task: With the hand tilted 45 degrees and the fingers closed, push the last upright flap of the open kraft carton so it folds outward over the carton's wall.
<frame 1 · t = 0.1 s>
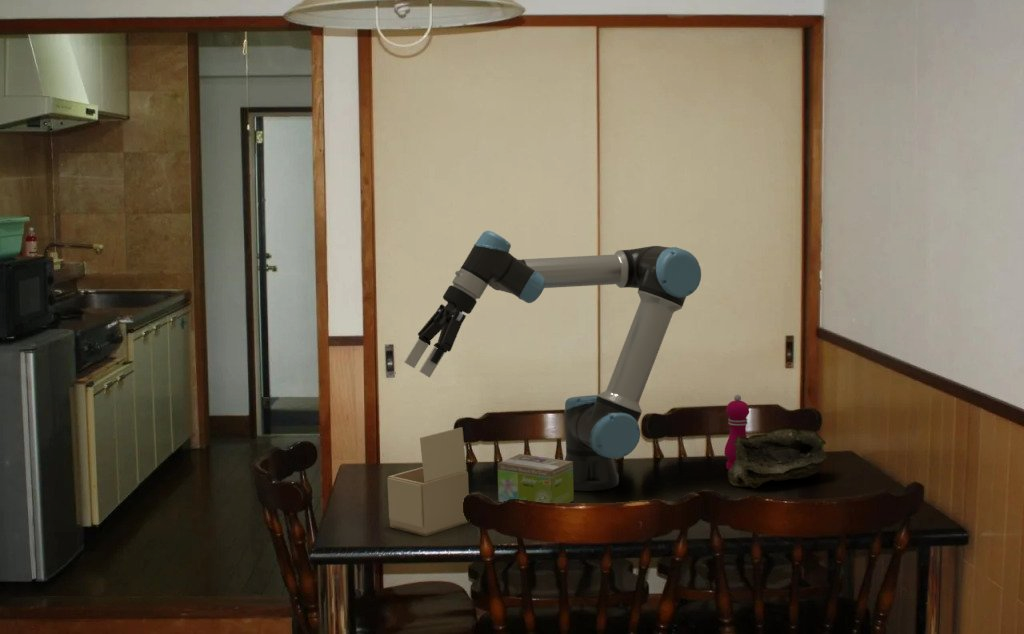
hand: (416, 369, 281), 36 cm above the table, tool tilted 35°, fingers open, 13 cm apart
flap: (443, 454, 275), point 17 cm above the table, hinge at -5.0°
tea box: (536, 524, 280), on the table
hollow geode rock: (779, 483, 309), on the table
pepper mill: (738, 469, 324), on the table
carton: (429, 524, 281), on the table
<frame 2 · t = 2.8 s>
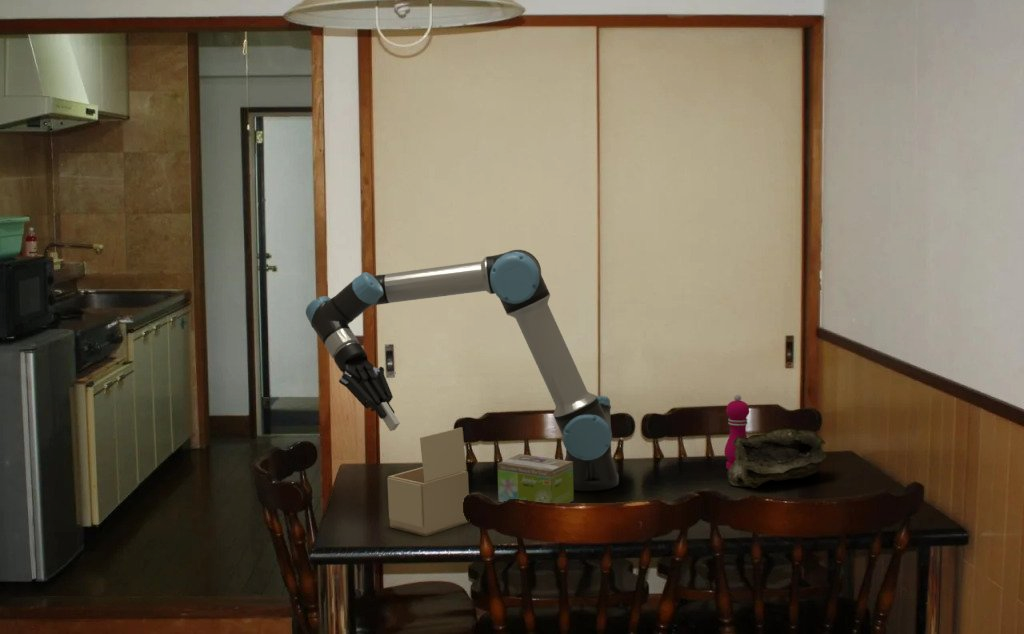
hand: (395, 427, 286), 22 cm above the table, tool tilted 45°, fingers closed
nothing on the table moved.
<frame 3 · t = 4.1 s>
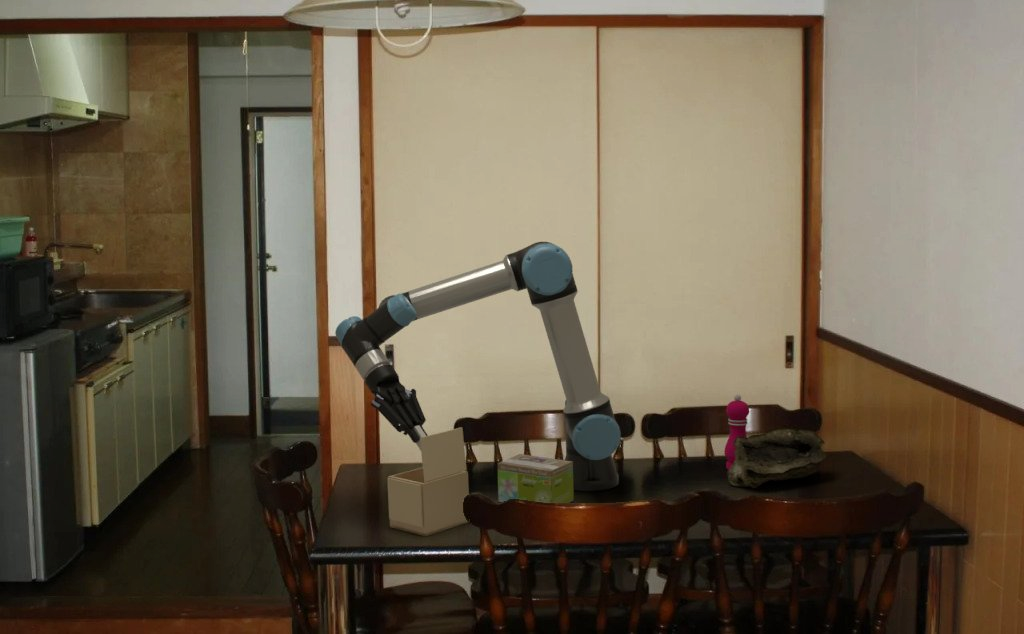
hand: (428, 451, 278), 18 cm above the table, tool tilted 45°, fingers closed
nothing on the table moved.
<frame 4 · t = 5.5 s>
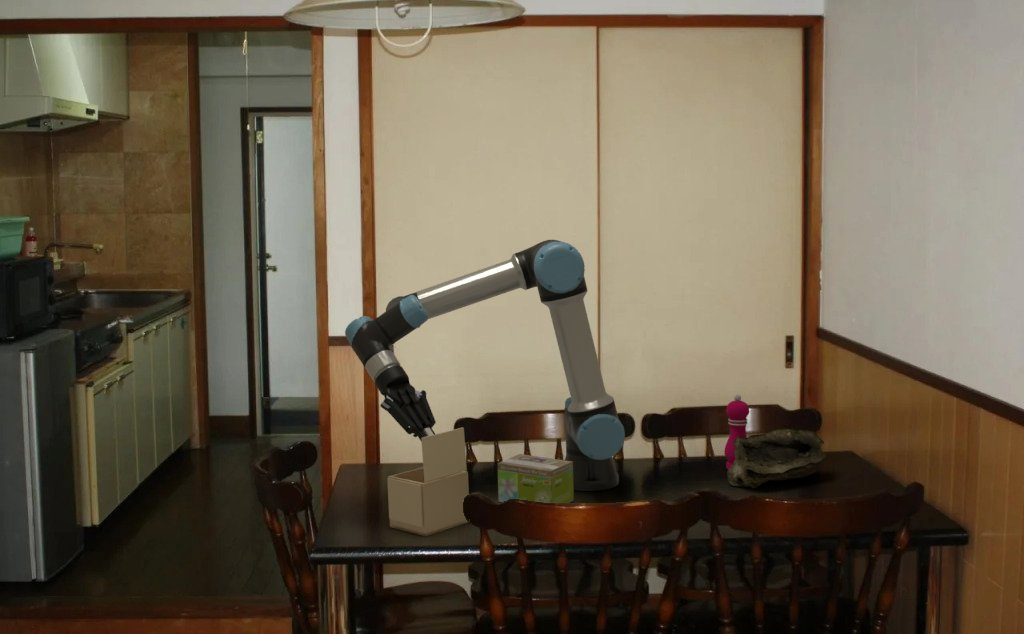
hand: (438, 453, 276), 17 cm above the table, tool tilted 45°, fingers closed
flap: (444, 454, 275), point 17 cm above the table, hinge at -2.2°, touching gripper
everything else where it was.
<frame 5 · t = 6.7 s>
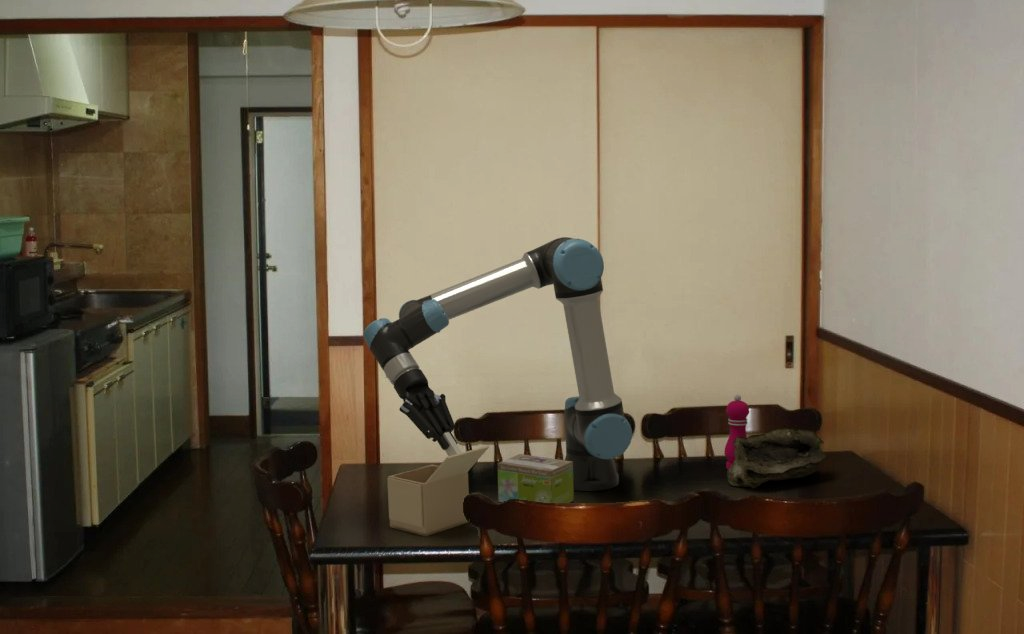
hand: (458, 459, 271), 17 cm above the table, tool tilted 45°, fingers closed
flap: (457, 464, 272), point 16 cm above the table, hinge at 46.9°, touching gripper
everything else where it was.
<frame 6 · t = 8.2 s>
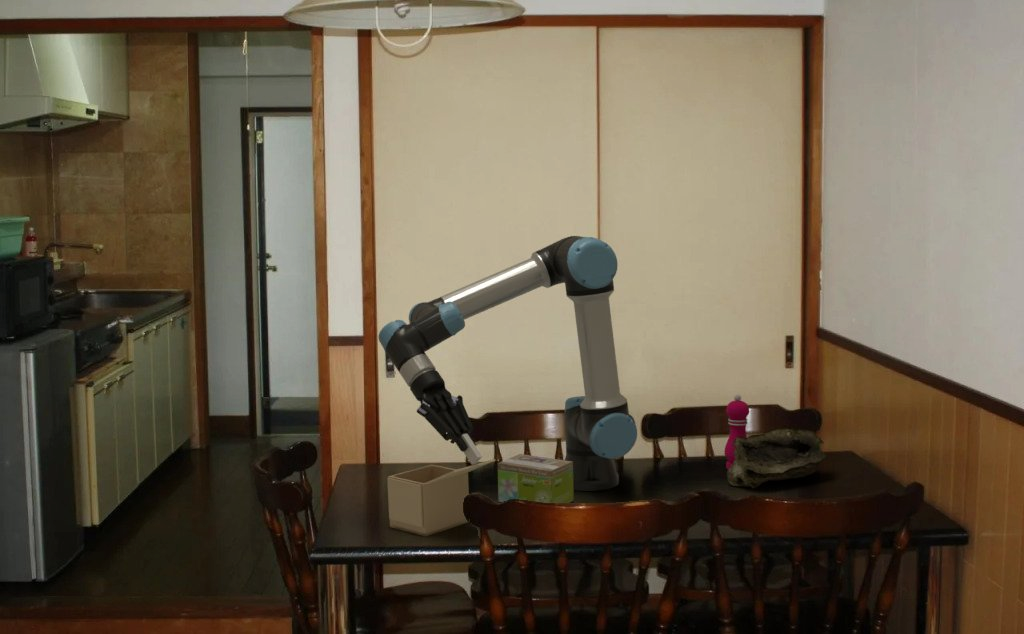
hand: (477, 460, 268), 18 cm above the table, tool tilted 45°, fingers closed
flap: (461, 471, 272), point 14 cm above the table, hinge at 65.6°, touching gripper
everything else where it was.
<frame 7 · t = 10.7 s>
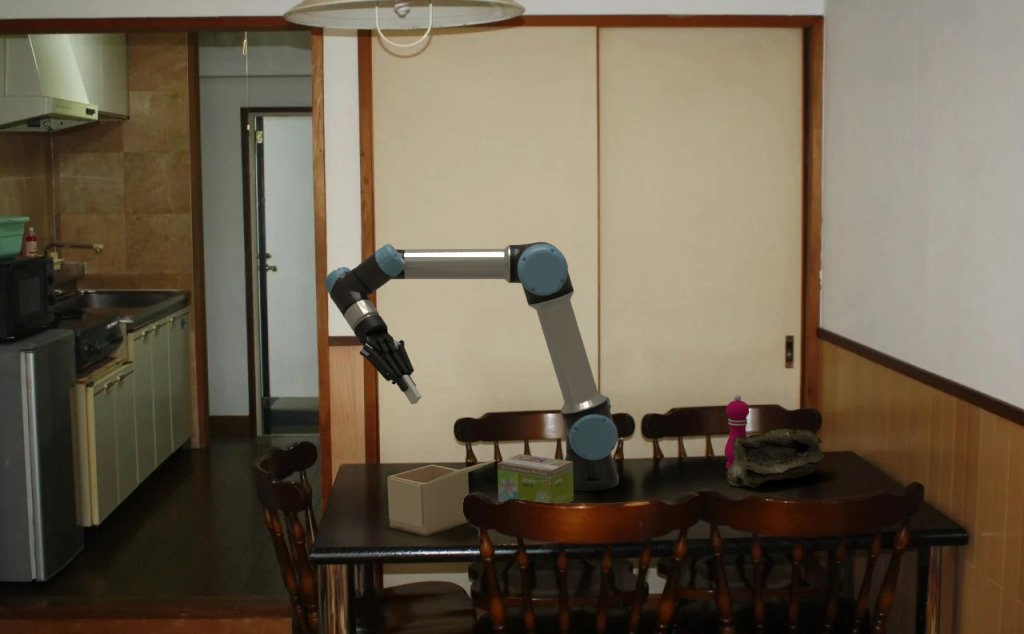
hand: (416, 400, 280), 29 cm above the table, tool tilted 45°, fingers closed
flap: (461, 471, 272), point 14 cm above the table, hinge at 66.4°
everything else where it was.
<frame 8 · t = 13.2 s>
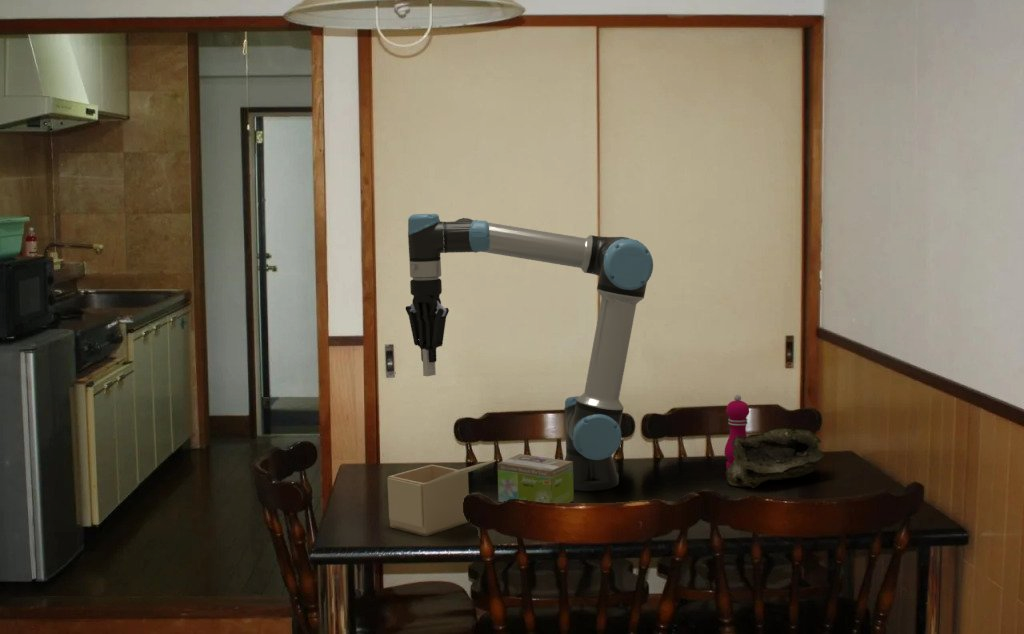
hand: (429, 375, 293), 32 cm above the table, tool pointing down, fingers closed
at the end: flap at +66° (first picture: -5°) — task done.
